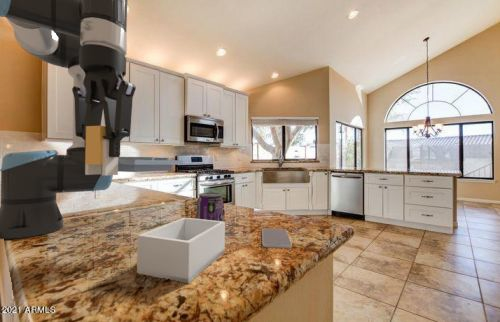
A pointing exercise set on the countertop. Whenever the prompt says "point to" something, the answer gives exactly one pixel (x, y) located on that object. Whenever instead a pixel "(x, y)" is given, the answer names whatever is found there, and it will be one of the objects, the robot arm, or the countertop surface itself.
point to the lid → (124, 163)
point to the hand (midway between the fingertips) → (101, 174)
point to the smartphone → (275, 238)
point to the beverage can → (210, 206)
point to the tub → (180, 248)
